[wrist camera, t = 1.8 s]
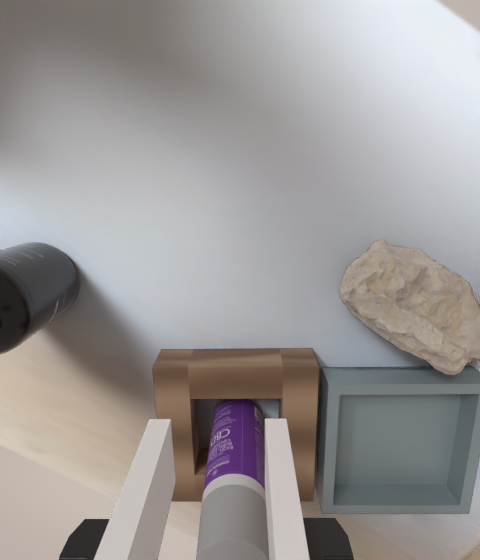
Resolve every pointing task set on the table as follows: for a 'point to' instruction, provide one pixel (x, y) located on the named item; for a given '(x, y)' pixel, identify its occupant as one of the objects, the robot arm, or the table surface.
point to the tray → (398, 440)
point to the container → (234, 486)
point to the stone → (414, 305)
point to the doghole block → (236, 385)
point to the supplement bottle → (33, 290)
